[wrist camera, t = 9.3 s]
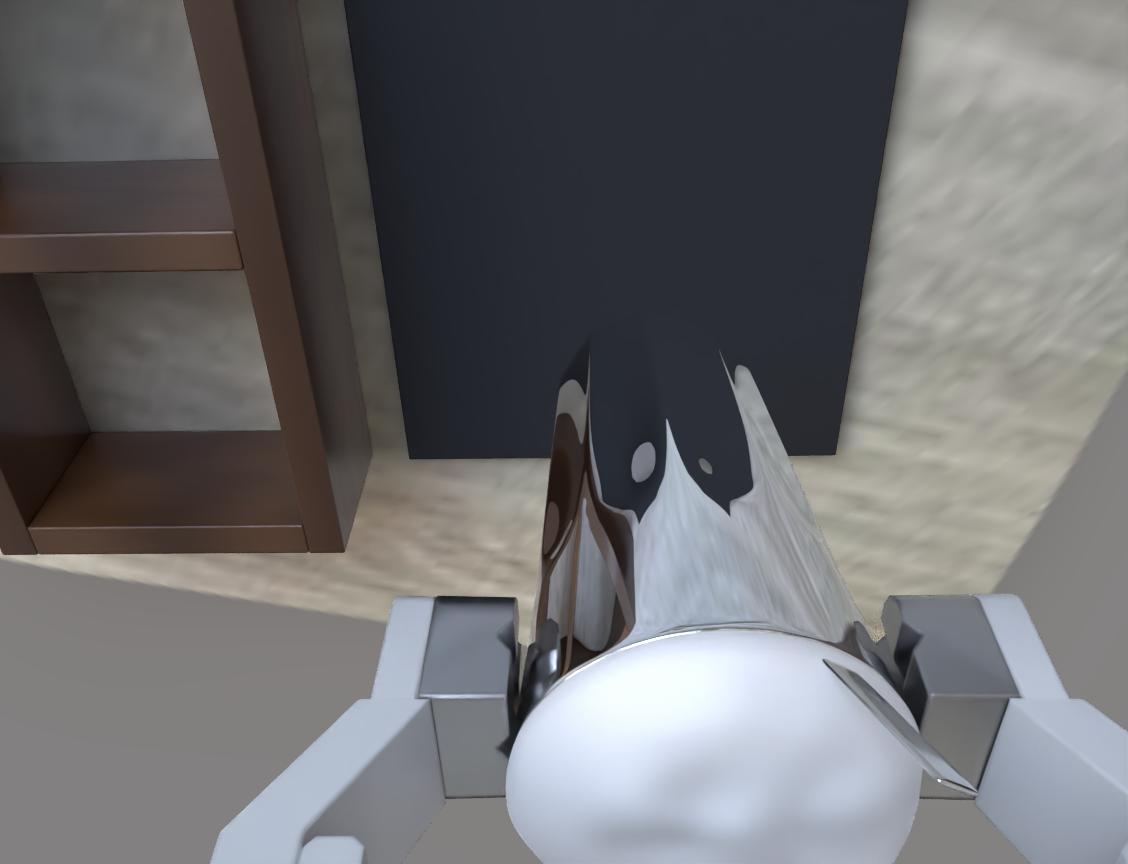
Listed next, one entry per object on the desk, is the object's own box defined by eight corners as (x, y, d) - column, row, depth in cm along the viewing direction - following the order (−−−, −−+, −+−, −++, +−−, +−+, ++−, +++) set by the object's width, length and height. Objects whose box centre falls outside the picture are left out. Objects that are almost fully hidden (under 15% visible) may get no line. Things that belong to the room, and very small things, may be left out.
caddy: (69, 457, 32) (2, 555, 29) (-197, -232, 22) (-357, -218, 18) (373, 455, 32) (345, 553, 28) (254, -246, 21) (186, -233, 18)
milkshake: (869, 309, 17) (1161, 866, 9) (689, 524, 20) (789, 1104, 12) (636, 180, 16) (730, 699, 8) (477, 430, 18) (421, 1011, 10)
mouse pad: (410, 452, 32) (409, 460, 31) (313, -242, 21) (309, -241, 21) (833, 447, 31) (835, 456, 31) (944, -261, 21) (950, -260, 21)
